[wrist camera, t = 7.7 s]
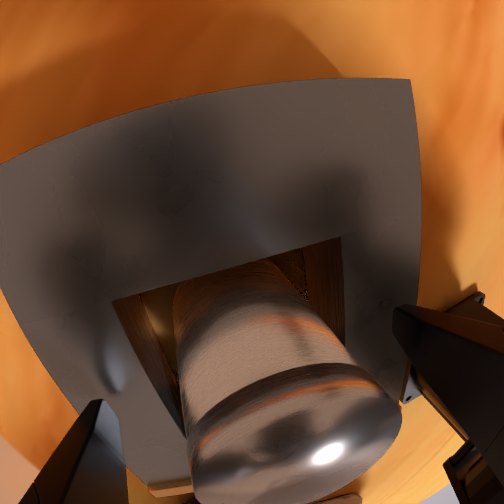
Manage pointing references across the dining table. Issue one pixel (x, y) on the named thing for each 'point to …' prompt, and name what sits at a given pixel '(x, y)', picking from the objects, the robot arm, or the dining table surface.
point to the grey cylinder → (271, 392)
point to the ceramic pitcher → (344, 500)
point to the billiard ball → (192, 502)
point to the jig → (210, 235)
